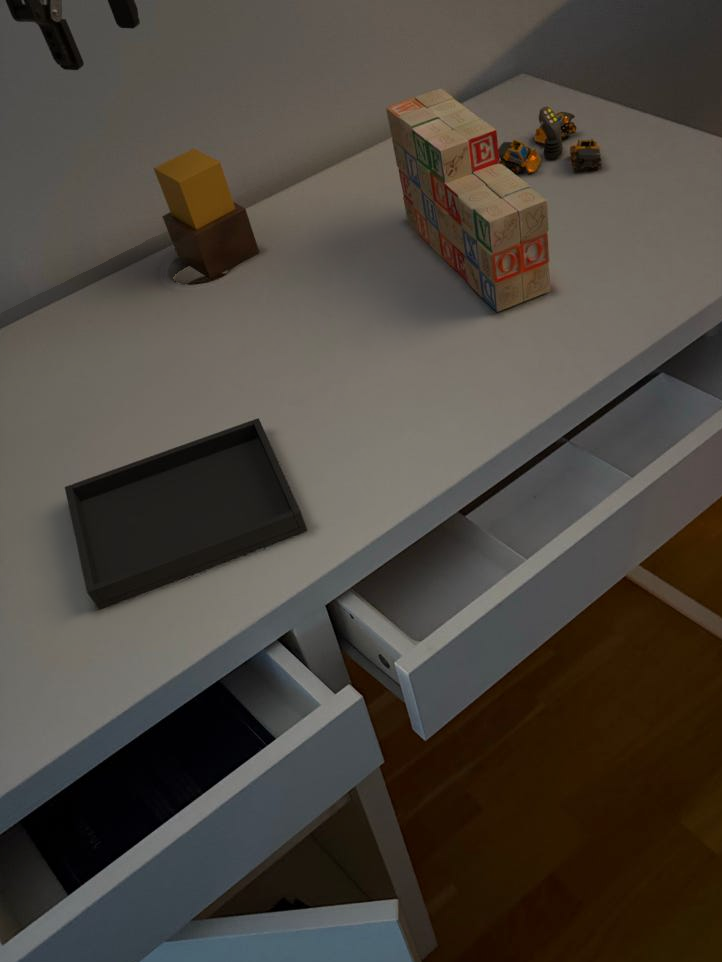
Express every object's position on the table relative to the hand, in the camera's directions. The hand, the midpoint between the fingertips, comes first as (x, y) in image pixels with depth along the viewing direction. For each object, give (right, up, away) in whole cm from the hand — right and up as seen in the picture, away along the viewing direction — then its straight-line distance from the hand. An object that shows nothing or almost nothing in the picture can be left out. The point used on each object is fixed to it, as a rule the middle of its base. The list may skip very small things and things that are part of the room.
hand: (102, 47), depth 84 cm
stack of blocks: (+33, -13, +14) cm, 38 cm away
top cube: (+5, -8, +15) cm, 18 cm away
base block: (+5, -11, +19) cm, 23 cm away
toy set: (+43, +2, +24) cm, 49 cm away
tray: (+9, -43, -6) cm, 44 cm away
